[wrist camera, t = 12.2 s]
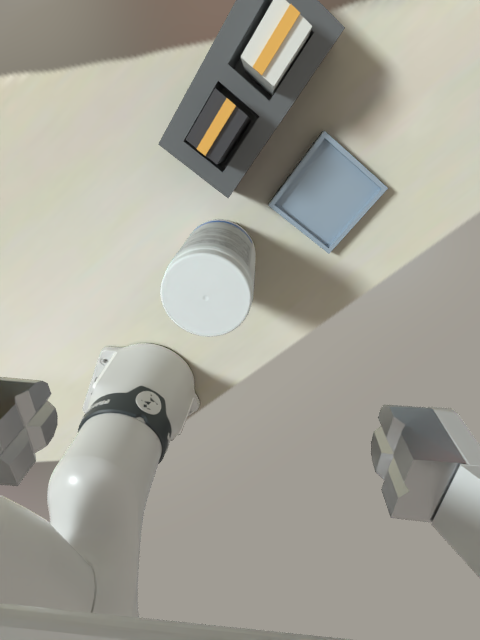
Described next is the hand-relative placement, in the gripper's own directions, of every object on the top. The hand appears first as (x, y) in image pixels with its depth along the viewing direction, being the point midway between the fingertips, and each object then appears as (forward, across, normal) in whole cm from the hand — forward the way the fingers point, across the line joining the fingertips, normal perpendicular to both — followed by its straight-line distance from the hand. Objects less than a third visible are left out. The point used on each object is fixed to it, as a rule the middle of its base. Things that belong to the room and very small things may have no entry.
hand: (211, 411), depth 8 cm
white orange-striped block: (+38, -1, -13) cm, 40 cm away
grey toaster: (+39, +2, -10) cm, 40 cm away
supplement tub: (+39, +4, +8) cm, 40 cm away
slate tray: (+39, -9, 0) cm, 40 cm away
